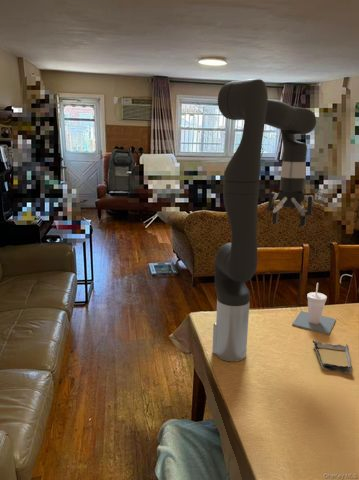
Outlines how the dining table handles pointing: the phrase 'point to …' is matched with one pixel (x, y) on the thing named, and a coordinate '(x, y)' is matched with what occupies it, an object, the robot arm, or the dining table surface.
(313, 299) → the smoothie
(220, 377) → the dining table surface
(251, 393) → the dining table surface
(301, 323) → the mat
